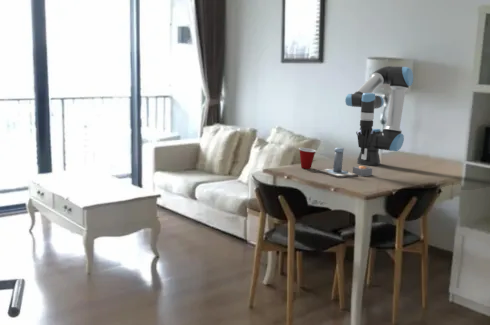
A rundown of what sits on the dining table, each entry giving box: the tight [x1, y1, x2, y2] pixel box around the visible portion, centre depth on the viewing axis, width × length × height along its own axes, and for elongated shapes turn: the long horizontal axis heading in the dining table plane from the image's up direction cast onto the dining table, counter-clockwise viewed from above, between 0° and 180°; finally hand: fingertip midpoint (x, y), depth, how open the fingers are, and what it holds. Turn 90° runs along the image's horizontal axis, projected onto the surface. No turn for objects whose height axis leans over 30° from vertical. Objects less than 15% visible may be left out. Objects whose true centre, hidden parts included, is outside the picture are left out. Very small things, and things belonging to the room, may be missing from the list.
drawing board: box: [316, 168, 359, 179], centre depth 326 cm, size 15×20×1 cm
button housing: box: [352, 166, 373, 177], centre depth 328 cm, size 8×8×4 cm
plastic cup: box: [298, 147, 317, 170], centre depth 339 cm, size 11×11×12 cm
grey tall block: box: [332, 147, 344, 173], centre depth 325 cm, size 5×5×14 cm
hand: (363, 159), depth 327 cm, fingers closed
